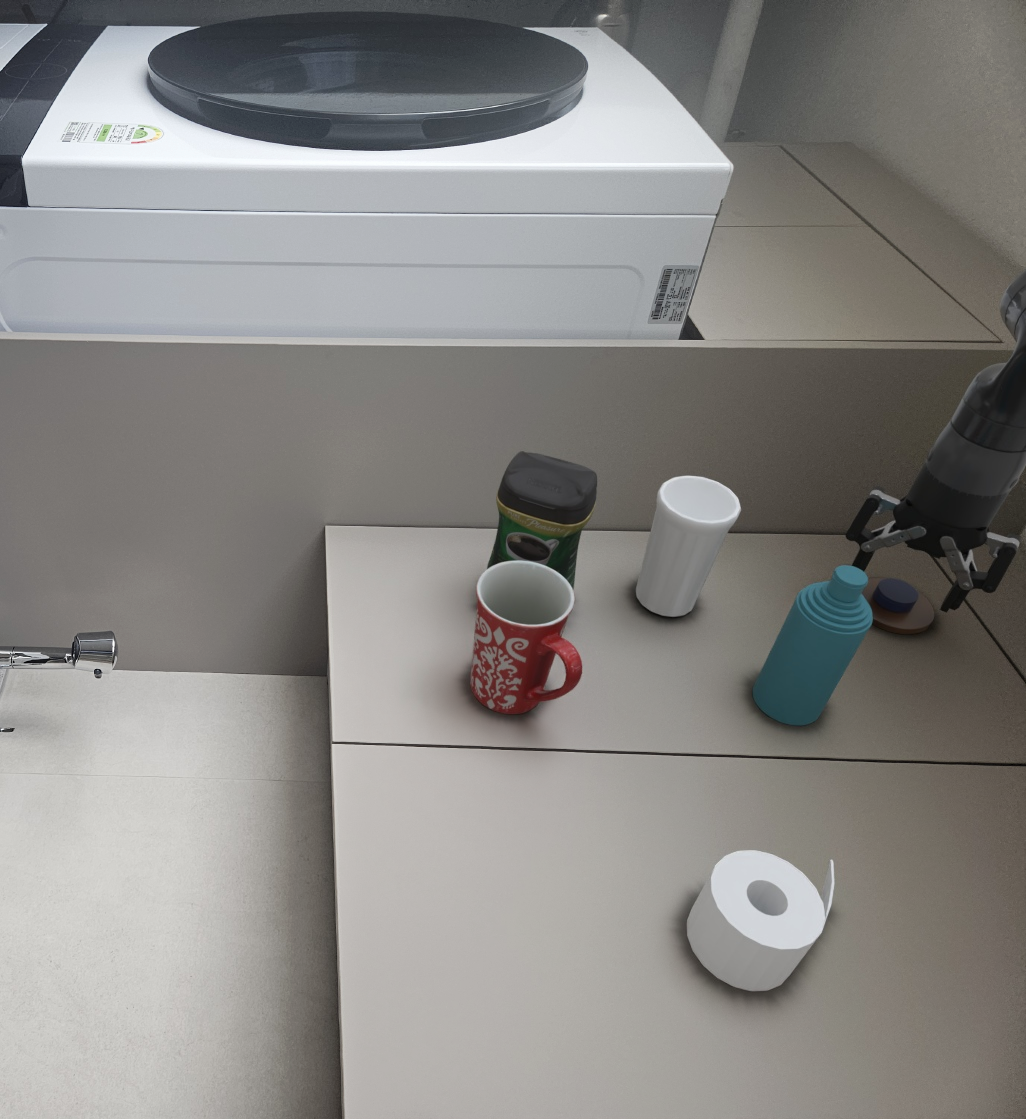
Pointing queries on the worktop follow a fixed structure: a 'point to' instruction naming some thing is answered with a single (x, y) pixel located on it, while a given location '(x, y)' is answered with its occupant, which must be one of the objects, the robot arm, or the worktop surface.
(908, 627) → the coaster
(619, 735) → the worktop surface
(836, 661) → the bottle
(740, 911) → the toilet paper
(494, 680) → the mug
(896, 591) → the cap
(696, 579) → the cup
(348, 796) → the worktop surface
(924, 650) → the worktop surface
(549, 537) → the coffee jar
